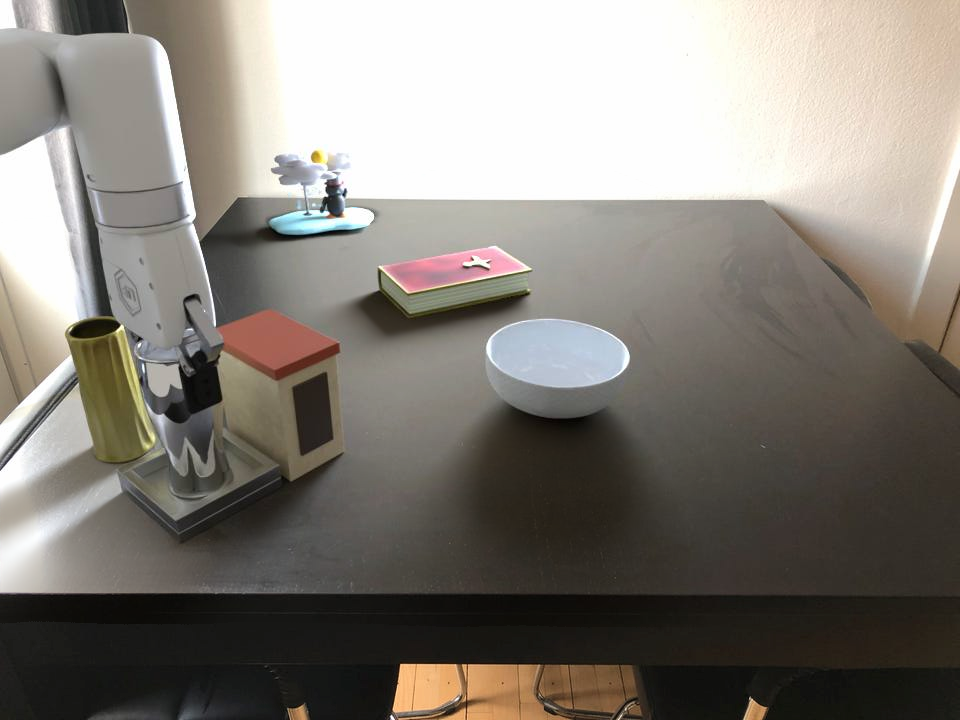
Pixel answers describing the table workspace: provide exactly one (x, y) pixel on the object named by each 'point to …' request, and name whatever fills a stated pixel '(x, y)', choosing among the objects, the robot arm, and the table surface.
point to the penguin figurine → (309, 175)
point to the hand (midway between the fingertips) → (182, 390)
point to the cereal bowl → (556, 367)
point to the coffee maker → (255, 422)
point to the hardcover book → (453, 281)
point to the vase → (109, 390)
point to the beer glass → (182, 423)
